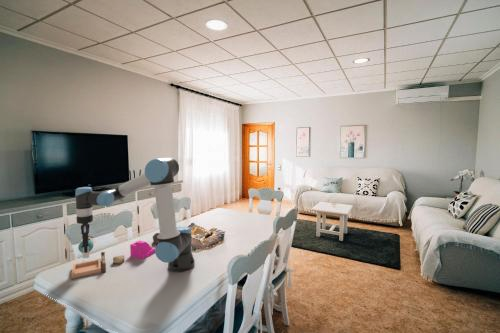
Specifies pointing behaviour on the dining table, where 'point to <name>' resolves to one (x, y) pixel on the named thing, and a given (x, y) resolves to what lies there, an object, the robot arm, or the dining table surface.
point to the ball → (88, 244)
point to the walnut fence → (103, 262)
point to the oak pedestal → (118, 259)
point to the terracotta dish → (86, 268)
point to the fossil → (155, 238)
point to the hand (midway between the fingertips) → (86, 254)
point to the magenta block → (141, 249)
